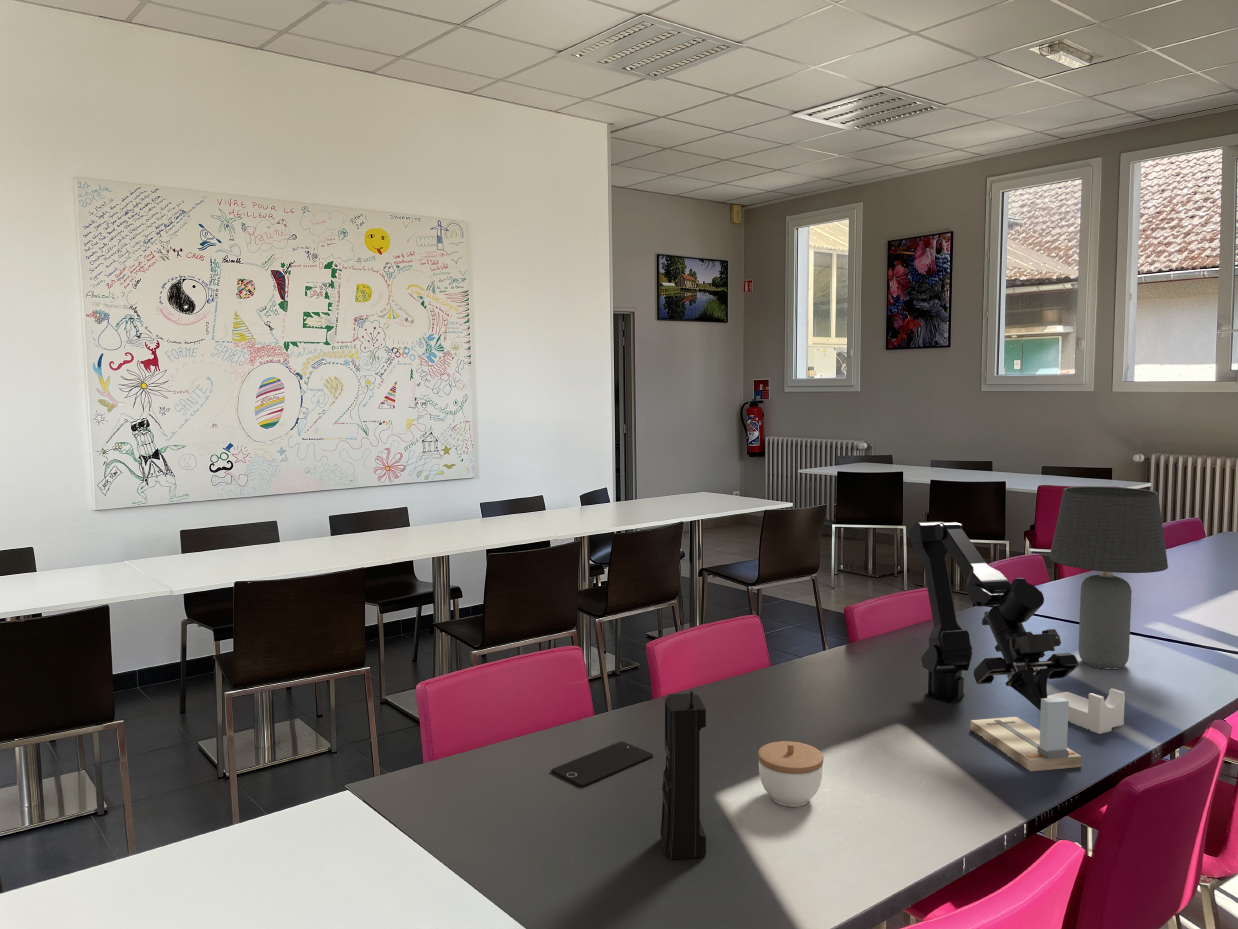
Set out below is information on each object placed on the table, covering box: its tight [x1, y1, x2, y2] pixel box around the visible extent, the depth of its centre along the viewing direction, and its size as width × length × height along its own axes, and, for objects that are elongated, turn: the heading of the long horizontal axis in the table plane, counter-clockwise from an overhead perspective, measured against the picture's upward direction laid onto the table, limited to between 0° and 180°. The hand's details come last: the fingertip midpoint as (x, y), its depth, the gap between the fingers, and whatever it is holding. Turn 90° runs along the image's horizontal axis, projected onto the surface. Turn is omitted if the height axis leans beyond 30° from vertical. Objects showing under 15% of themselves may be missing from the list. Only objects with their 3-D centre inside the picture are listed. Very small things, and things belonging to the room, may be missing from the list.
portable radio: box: [660, 690, 707, 860], centre depth 129 cm, size 8×6×25 cm
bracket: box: [1047, 687, 1126, 735], centre depth 177 cm, size 13×7×8 cm, turn 24°
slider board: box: [970, 716, 1082, 772], centre depth 163 cm, size 19×10×2 cm, turn 9°
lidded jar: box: [757, 740, 824, 808], centre depth 144 cm, size 11×11×9 cm
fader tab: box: [1037, 697, 1069, 759], centre depth 155 cm, size 3×4×10 cm
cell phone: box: [550, 741, 654, 789], centre depth 158 cm, size 9×18×1 cm, turn 134°
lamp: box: [1048, 485, 1169, 670], centre depth 210 cm, size 25×25×43 cm
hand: (1045, 711), depth 157 cm, fingers closed
